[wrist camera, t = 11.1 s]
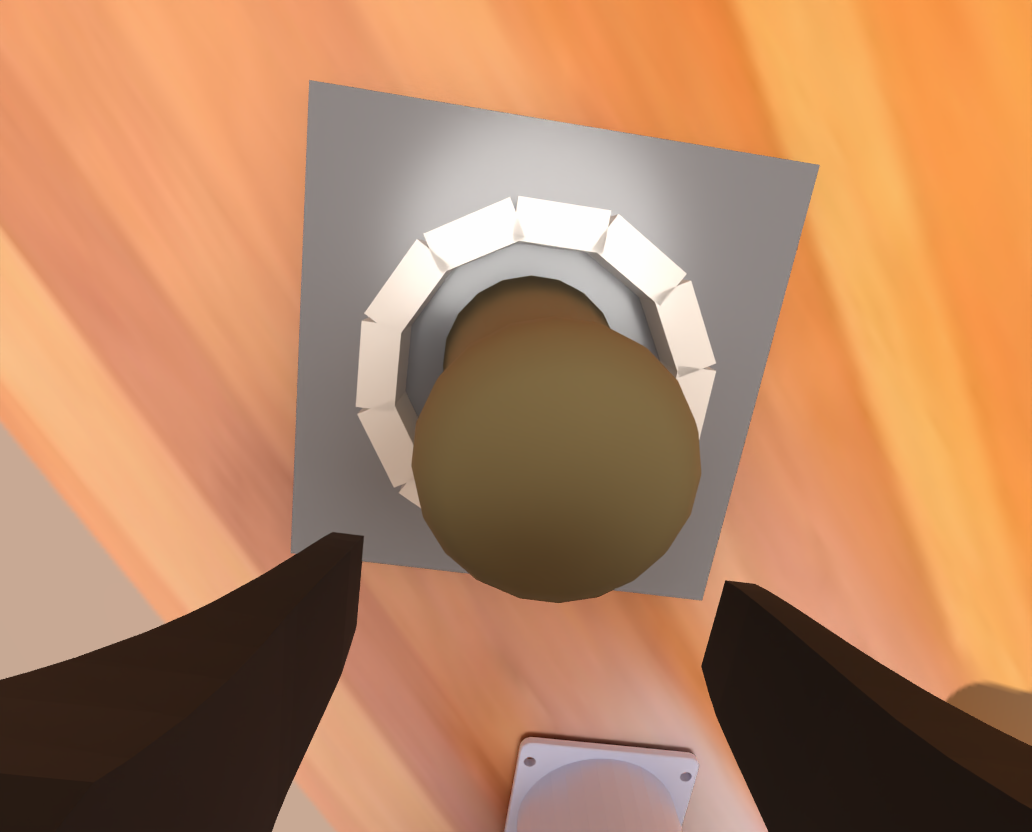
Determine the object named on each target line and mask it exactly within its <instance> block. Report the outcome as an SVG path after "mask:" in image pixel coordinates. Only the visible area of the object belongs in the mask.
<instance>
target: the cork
mask: <svg viewBox="0 0 1032 832" xmlns="http://www.w3.org/2000/svg"><path fill="white" fill-rule="evenodd" d="M443 371H444V372H443V373H442V374H441V375H440V376H439V377H438V379H437V380H436V382H435V384H434V386H433V388H432V390H431V392H430V395H429V397H428V399H427V401H426V403H425V405H424V407H423V409H422V411H421V413H420V415H419V418H418V420H417V422H416V427H415V436H414V445H413V454H412V463H411V467H412V471H413V476H414V480H415V484H416V489H417V493H418V497H419V502H420V506H421V511H422V515H423V518H424V520H425V522H426V523H427V525H428V526H429V528H430V530H431V531H432V533H433V534H434V536H435V538H436V539H437V541H438V543H439V544H440V546H441V547H442V549H443V551H444V552H445V553H446V554H447V555H448V556H449V557H450V558H452V559H453V560H454V561H455V562H456V563H457V564H459V565H460V566H461V567H462V568H463V569H465V570H466V571H467V572H468V573H469V574H470V575H472V576H473V577H474V578H475V579H476V580H479V581H481V582H483V583H485V584H488V585H490V586H492V587H495V588H497V589H499V590H502V591H504V592H506V593H509V594H511V595H513V596H516V597H518V598H522V599H530V600H538V601H546V602H554V603H562V602H569V601H575V600H582V599H588V598H595V597H599V596H601V595H603V594H606V593H608V592H610V591H612V590H614V589H617V588H619V587H621V586H623V585H625V584H628V583H630V582H632V581H634V580H635V579H636V578H638V577H639V576H640V575H641V574H642V573H643V572H645V571H646V570H647V569H648V568H649V567H650V566H652V565H653V564H654V563H655V562H656V561H658V560H659V559H660V558H661V557H662V556H663V555H664V554H665V553H666V552H667V551H668V549H669V548H670V546H671V545H672V543H673V542H674V540H675V538H676V537H677V535H678V534H679V532H680V531H681V529H682V527H683V526H684V524H685V523H686V521H687V520H688V518H689V517H690V515H691V512H692V508H693V504H694V501H695V497H696V493H697V489H698V485H699V482H700V478H701V460H700V447H699V433H698V428H697V425H696V421H695V419H694V416H693V414H692V412H691V410H690V407H689V405H688V403H687V400H686V398H685V396H684V394H683V391H682V389H681V387H680V384H679V382H678V380H677V379H676V378H675V377H674V376H673V375H672V374H671V373H670V372H669V371H668V370H667V369H666V368H665V366H664V365H663V364H662V363H661V362H660V361H659V360H658V359H657V358H656V357H655V356H654V355H653V354H652V353H651V352H650V351H649V350H648V348H646V347H645V346H643V345H641V344H639V343H637V342H635V341H633V340H631V339H630V338H628V337H626V336H624V335H622V334H620V333H618V332H616V331H614V330H612V329H610V327H609V324H608V322H607V320H606V318H605V316H604V314H603V312H602V311H601V310H600V309H599V308H598V307H597V306H596V305H595V304H594V303H593V302H592V301H591V300H590V299H589V298H588V297H587V296H586V294H585V293H583V292H581V291H579V290H577V289H576V288H574V287H572V286H570V285H568V284H566V283H564V282H562V281H560V280H557V279H551V278H544V277H538V276H532V275H530V276H524V277H518V278H512V279H506V280H502V281H500V282H498V283H496V284H494V285H493V286H491V287H489V288H487V289H485V290H483V291H481V292H479V293H478V294H477V295H476V296H475V297H474V298H473V299H472V300H471V301H470V302H469V303H468V304H467V305H466V306H465V307H464V308H463V309H462V310H461V311H460V312H459V313H458V315H457V317H456V319H455V322H454V324H453V326H452V328H451V330H450V332H449V334H448V336H447V338H446V345H445V353H444V361H443Z"/></svg>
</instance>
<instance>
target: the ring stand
mask: <svg viewBox="0 0 1032 832" xmlns="http://www.w3.org/2000/svg"><path fill="white" fill-rule="evenodd" d="M819 166H820V165H816V164H810V163H804V162H798V161H792V160H786V159H780V158H774V157H768V156H762V155H756V154H750V153H744V152H738V151H732V150H726V149H720V148H714V147H708V146H702V145H696V144H690V143H684V142H678V141H672V140H666V139H660V138H654V137H648V136H642V135H636V134H630V133H624V132H618V131H612V130H606V129H600V128H594V127H588V126H582V125H576V124H570V123H564V122H558V121H552V120H546V119H540V118H534V117H528V116H522V115H516V114H510V113H504V112H498V111H492V110H486V109H480V108H474V107H468V106H462V105H456V104H450V103H444V102H438V101H432V100H426V99H420V98H414V97H408V96H402V95H396V94H390V93H384V92H378V91H372V90H366V89H360V88H354V87H348V86H342V85H336V84H330V83H324V82H318V81H312V80H309V101H308V127H307V153H306V178H305V204H304V229H303V255H302V281H301V306H300V332H299V357H298V383H297V408H296V434H295V460H294V485H293V511H292V536H291V553H295V554H297V553H299V552H300V551H302V550H304V549H305V548H307V547H308V546H310V545H311V544H313V543H315V542H316V541H318V540H319V539H321V538H323V537H324V536H326V535H328V534H329V533H331V532H338V533H346V534H354V535H362V536H364V543H363V555H362V561H365V562H373V563H382V564H391V565H399V566H408V567H417V568H425V569H434V570H442V571H451V572H460V573H468V572H467V571H466V570H465V569H463V568H462V567H461V566H460V565H459V564H457V563H456V562H455V561H454V560H453V559H452V558H450V557H449V556H448V555H447V554H446V553H445V552H444V551H443V549H442V547H441V546H440V544H439V543H438V541H437V539H436V538H435V536H434V534H433V533H432V531H431V530H430V528H429V526H428V525H427V523H426V522H425V520H424V518H423V515H422V511H421V506H420V502H419V497H418V493H417V489H416V484H415V480H414V476H413V471H412V467H411V463H412V454H413V445H414V436H415V427H416V422H417V420H418V418H419V415H420V413H421V411H422V409H423V407H424V405H425V403H426V401H427V399H428V397H429V395H430V392H431V390H432V388H433V386H434V384H435V382H436V380H437V379H438V377H439V376H440V375H441V374H442V373H443V372H444V371H443V361H444V353H445V345H446V338H447V336H448V334H449V332H450V330H451V328H452V326H453V324H454V322H455V319H456V317H457V315H458V313H459V312H460V311H461V310H462V309H463V308H464V307H465V306H466V305H467V304H468V303H469V302H470V301H471V300H472V299H473V298H474V297H475V296H476V295H477V294H478V293H479V292H481V291H483V290H485V289H487V288H489V287H491V286H493V285H494V284H496V283H498V282H500V281H502V280H506V279H512V278H518V277H524V276H530V275H532V276H538V277H544V278H551V279H557V280H560V281H562V282H564V283H566V284H568V285H570V286H572V287H574V288H576V289H577V290H579V291H581V292H583V293H585V294H586V296H587V297H588V298H589V299H590V300H591V301H592V302H593V303H594V304H595V305H596V306H597V307H598V308H599V309H600V310H601V311H602V312H603V314H604V316H605V318H606V320H607V322H608V324H609V327H610V329H612V330H614V331H616V332H618V333H620V334H622V335H624V336H626V337H628V338H630V339H631V340H633V341H635V342H637V343H639V344H641V345H643V346H645V347H646V348H648V350H649V351H650V352H651V353H652V354H653V355H654V356H655V357H656V358H657V359H658V360H659V361H660V362H661V363H662V364H663V365H664V366H665V368H666V369H667V370H668V371H669V372H670V373H671V374H672V375H673V376H674V377H675V378H676V379H677V380H678V382H679V384H680V387H681V389H682V391H683V394H684V396H685V398H686V400H687V403H688V405H689V407H690V410H691V412H692V414H693V416H694V419H695V421H696V425H697V428H698V433H699V447H700V460H701V478H700V482H699V485H698V489H697V493H696V497H695V501H694V504H693V508H692V512H691V515H690V517H689V518H688V520H687V521H686V523H685V524H684V526H683V527H682V529H681V531H680V532H679V534H678V535H677V537H676V538H675V540H674V542H673V543H672V545H671V546H670V548H669V549H668V551H667V552H666V553H665V554H664V555H663V556H662V557H661V558H660V559H659V560H658V561H656V562H655V563H654V564H653V565H652V566H650V567H649V568H648V569H647V570H646V571H645V572H643V573H642V574H641V575H640V576H639V577H638V578H636V579H635V580H634V581H632V582H630V583H628V584H625V585H623V586H621V587H619V588H617V589H614V590H616V591H624V592H633V593H642V594H650V595H659V596H668V597H676V598H685V599H693V600H702V599H703V595H704V591H705V587H706V584H707V580H708V576H709V573H710V569H711V565H712V562H713V558H714V554H715V550H716V547H717V543H718V539H719V536H720V532H721V528H722V525H723V521H724V517H725V513H726V510H727V506H728V502H729V499H730V495H731V491H732V488H733V484H734V480H735V476H736V473H737V469H738V465H739V462H740V458H741V454H742V451H743V447H744V443H745V439H746V436H747V432H748V428H749V425H750V421H751V417H752V414H753V410H754V406H755V402H756V399H757V395H758V391H759V388H760V384H761V380H762V377H763V373H764V369H765V365H766V362H767V358H768V354H769V351H770V347H771V343H772V340H773V336H774V332H775V328H776V325H777V321H778V317H779V314H780V310H781V306H782V302H783V299H784V295H785V291H786V288H787V284H788V280H789V277H790V273H791V269H792V265H793V262H794V258H795V254H796V251H797V247H798V243H799V240H800V236H801V232H802V228H803V225H804V221H805V217H806V214H807V210H808V206H809V203H810V199H811V195H812V191H813V188H814V184H815V180H816V177H817V173H818V169H819ZM468 574H469V573H468Z"/></svg>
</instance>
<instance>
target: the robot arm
mask: <svg viewBox="0 0 1032 832" xmlns="http://www.w3.org/2000/svg"><path fill="white" fill-rule="evenodd" d="M363 543H364V536H362V535H354V534H346V533H338V532H331V533H329V534H328V535H326V536H324V537H323V538H321V539H319V540H318V541H316V542H315V543H313V544H311V545H310V546H308V547H307V548H305V549H304V550H302V551H300V552H299V553H297V554H296V555H294V556H293V557H291V558H289V559H288V560H286V561H284V562H283V563H281V564H279V565H278V566H276V567H275V568H273V569H271V570H270V571H268V572H266V573H265V574H263V575H261V576H260V577H258V578H256V579H254V580H252V581H250V582H249V583H247V584H245V585H243V586H241V587H239V588H238V589H236V590H234V591H232V592H230V593H228V594H227V595H225V596H223V597H221V598H219V599H217V600H216V601H214V602H212V603H210V604H208V605H206V606H203V607H201V608H199V609H197V610H195V611H193V612H191V613H189V614H187V615H184V616H182V617H180V618H177V619H175V620H173V621H171V622H168V623H166V624H164V625H161V626H159V627H157V628H154V629H152V630H150V631H147V632H145V633H142V634H139V635H137V636H134V637H131V638H128V639H126V640H123V641H120V642H117V643H115V644H112V645H109V646H106V647H103V648H101V649H98V650H95V651H92V652H90V653H87V654H84V655H81V656H79V657H76V658H72V659H69V660H66V661H63V662H60V663H57V664H53V665H50V666H47V667H44V668H40V669H37V670H34V671H31V672H27V673H23V674H20V675H17V676H13V677H9V678H6V679H2V680H0V832H272V829H273V827H274V824H275V821H276V819H277V816H278V814H279V811H280V809H281V806H282V804H283V802H284V799H285V797H286V794H287V792H288V790H289V788H290V785H291V783H292V781H293V779H294V777H295V775H296V772H297V770H298V768H299V766H300V764H301V762H302V759H303V757H304V755H305V753H306V751H307V749H308V746H309V744H310V742H311V740H312V738H313V736H314V733H315V731H316V729H317V727H318V725H319V723H320V720H321V718H322V716H323V714H324V712H325V709H326V707H327V705H328V703H329V701H330V699H331V696H332V694H333V692H334V690H335V688H336V685H337V683H338V681H339V679H340V676H341V674H342V671H343V668H344V665H345V661H346V658H347V655H348V652H349V649H350V646H351V643H352V639H353V636H354V633H355V630H356V625H357V614H358V602H359V590H360V578H361V566H362V555H363ZM701 667H702V670H703V674H704V678H705V681H706V685H707V688H708V692H709V695H710V698H711V701H712V704H713V707H714V711H715V714H716V717H717V719H718V721H719V724H720V726H721V728H722V730H723V733H724V735H725V737H726V739H727V742H728V744H729V746H730V748H731V751H732V753H733V755H734V757H735V759H736V762H737V764H738V766H739V768H740V770H741V773H742V775H743V777H744V779H745V781H746V783H747V786H748V788H749V790H750V792H751V794H752V797H753V799H754V801H755V803H756V805H757V807H758V810H759V812H760V814H761V816H762V818H763V821H764V823H765V825H766V827H767V829H768V832H1032V746H1030V745H1028V744H1026V743H1024V742H1021V741H1019V740H1018V739H1016V738H1014V737H1012V736H1010V735H1007V734H1005V733H1003V732H1001V731H1000V730H998V729H996V728H993V727H992V726H990V725H987V724H986V723H984V722H982V721H980V720H978V719H976V718H975V717H973V716H971V715H969V714H967V713H965V712H963V711H962V710H960V709H958V708H956V707H954V706H952V705H950V704H949V703H947V702H945V701H943V700H941V699H939V698H938V697H936V696H934V695H932V694H931V693H929V692H927V691H925V690H924V689H922V688H920V687H918V686H917V685H915V684H913V683H912V682H910V681H909V680H907V679H905V678H904V677H902V676H900V675H899V674H897V673H895V672H894V671H892V670H890V669H889V668H887V667H886V666H884V665H882V664H881V663H879V662H877V661H876V660H874V659H873V658H871V657H870V656H868V655H866V654H865V653H863V652H862V651H860V650H859V649H857V648H856V647H854V646H852V645H851V644H849V643H848V642H846V641H845V640H843V639H842V638H840V637H839V636H837V635H836V634H834V633H833V632H831V631H830V630H828V629H827V628H825V627H824V626H822V625H821V624H819V623H818V622H816V621H815V620H813V619H812V618H810V617H809V616H807V615H806V614H804V613H803V612H801V611H800V610H798V609H796V608H795V607H793V606H792V605H790V604H789V603H787V602H786V601H784V600H782V599H781V598H779V597H778V596H776V595H774V594H773V593H771V592H769V591H767V590H766V589H764V588H762V587H760V586H758V585H756V584H750V583H742V582H734V581H726V580H725V584H724V587H723V591H722V595H721V598H720V602H719V605H718V609H717V612H716V616H715V619H714V623H713V627H712V630H711V634H710V637H709V641H708V644H707V648H706V652H705V655H704V659H703V662H702V666H701ZM528 757H532V759H527V758H528ZM698 770H699V763H698V760H697V758H696V756H695V755H694V754H693V753H689V752H680V751H670V750H660V749H649V748H639V747H629V746H619V745H609V744H599V743H588V742H578V741H568V740H558V739H548V738H538V737H528V738H525V739H524V740H523V741H522V742H521V744H520V747H519V753H518V758H517V763H516V769H515V774H514V780H513V785H512V791H511V796H510V802H509V807H508V813H507V818H506V824H505V829H504V832H682V828H681V827H682V824H683V821H684V817H685V814H686V810H687V807H688V804H689V800H690V797H691V794H692V790H693V787H694V783H695V780H696V777H697V773H698ZM684 772H686V773H684ZM682 773H683V774H682Z"/></svg>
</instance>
